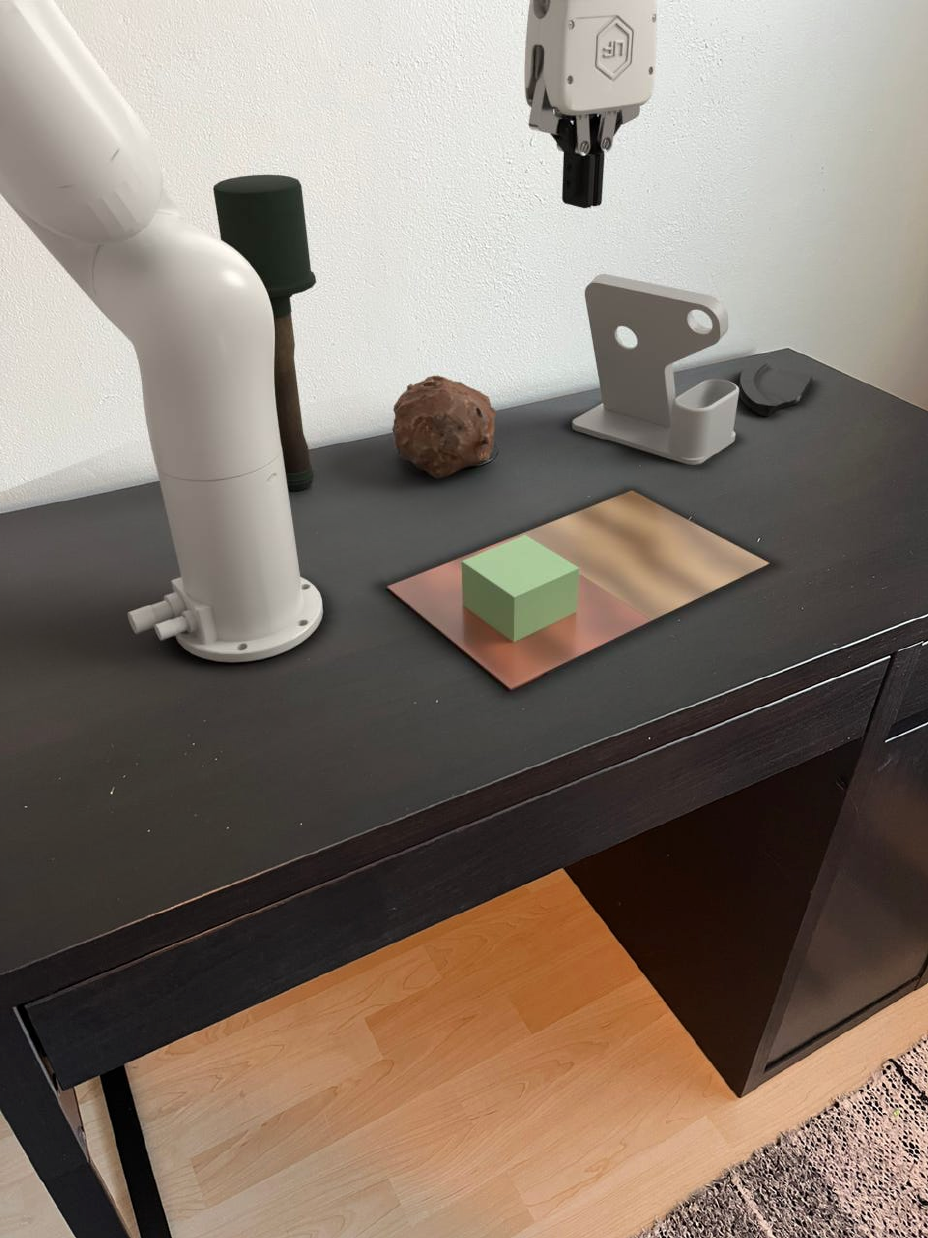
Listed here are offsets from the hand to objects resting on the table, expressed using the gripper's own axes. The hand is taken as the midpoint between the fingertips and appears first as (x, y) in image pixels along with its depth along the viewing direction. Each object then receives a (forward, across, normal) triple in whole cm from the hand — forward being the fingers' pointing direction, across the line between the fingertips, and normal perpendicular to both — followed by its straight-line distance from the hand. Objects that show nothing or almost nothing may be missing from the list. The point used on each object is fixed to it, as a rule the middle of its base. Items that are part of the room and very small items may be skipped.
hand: (581, 203), depth 80 cm
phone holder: (+29, +20, +8) cm, 36 cm away
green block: (+29, -15, -11) cm, 34 cm away
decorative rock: (+29, -4, +16) cm, 34 cm away
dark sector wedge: (+29, +40, +8) cm, 50 cm away
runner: (+29, -7, -10) cm, 32 cm away
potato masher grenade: (+29, -19, +22) cm, 41 cm away
